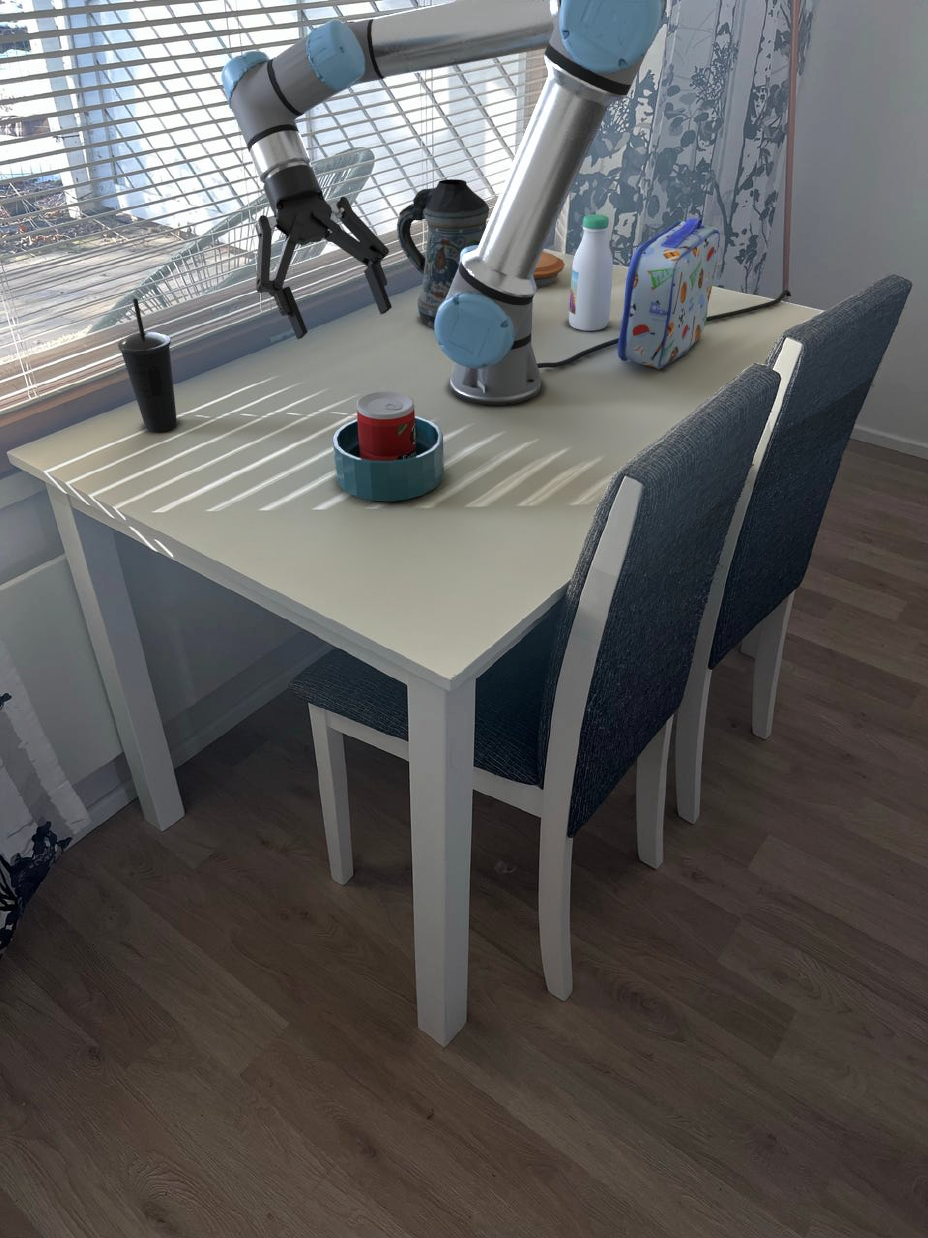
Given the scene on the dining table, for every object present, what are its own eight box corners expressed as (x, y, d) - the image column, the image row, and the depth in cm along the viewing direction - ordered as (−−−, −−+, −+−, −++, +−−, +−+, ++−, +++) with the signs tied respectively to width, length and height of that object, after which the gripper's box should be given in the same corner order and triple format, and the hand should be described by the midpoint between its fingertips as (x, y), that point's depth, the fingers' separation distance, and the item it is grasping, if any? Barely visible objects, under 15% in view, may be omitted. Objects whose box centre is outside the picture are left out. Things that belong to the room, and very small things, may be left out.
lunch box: (660, 322, 188) (674, 202, 175) (712, 331, 184) (730, 209, 171) (608, 371, 169) (620, 241, 155) (665, 382, 165) (682, 249, 151)
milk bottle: (614, 322, 188) (624, 214, 176) (597, 334, 183) (606, 224, 171) (579, 315, 191) (586, 208, 179) (561, 326, 186) (567, 218, 174)
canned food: (410, 489, 134) (406, 416, 127) (354, 484, 135) (348, 411, 129) (422, 464, 140) (420, 393, 133) (369, 459, 141) (364, 389, 135)
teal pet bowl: (432, 449, 145) (430, 409, 141) (453, 497, 133) (452, 455, 129) (331, 459, 143) (327, 419, 139) (344, 510, 131) (340, 467, 127)
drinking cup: (195, 419, 154) (172, 293, 142) (168, 439, 148) (142, 310, 136) (154, 412, 156) (128, 288, 144) (126, 432, 150) (96, 304, 138)
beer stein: (508, 329, 185) (511, 190, 170) (408, 335, 183) (402, 195, 168) (492, 300, 198) (493, 170, 183) (398, 306, 196) (392, 174, 181)
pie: (487, 289, 204) (487, 265, 201) (497, 267, 216) (498, 244, 213) (560, 293, 202) (561, 269, 199) (566, 270, 214) (567, 247, 211)
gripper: (355, 170, 142) (409, 309, 145) (197, 205, 131) (258, 354, 134) (374, 145, 135) (429, 292, 138) (208, 180, 125) (272, 338, 128)
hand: (345, 323), depth 136 cm, fingers open, 13 cm apart
